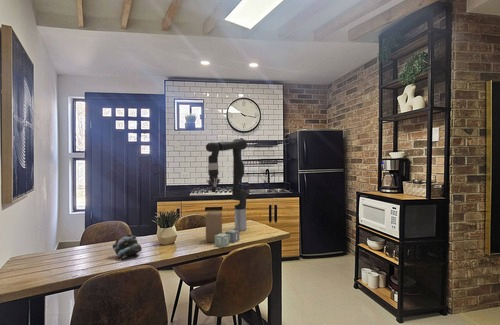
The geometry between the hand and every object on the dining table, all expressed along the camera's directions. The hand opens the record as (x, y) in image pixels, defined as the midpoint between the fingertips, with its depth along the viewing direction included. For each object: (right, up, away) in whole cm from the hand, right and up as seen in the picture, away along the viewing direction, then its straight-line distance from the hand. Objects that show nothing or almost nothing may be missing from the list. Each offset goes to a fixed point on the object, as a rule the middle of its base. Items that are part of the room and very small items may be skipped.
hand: (214, 192), depth 220 cm
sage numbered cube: (+8, -34, -22) cm, 41 cm away
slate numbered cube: (+15, -34, -12) cm, 39 cm away
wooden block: (+1, -34, -10) cm, 36 cm away
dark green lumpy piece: (-47, -35, -43) cm, 73 cm away
